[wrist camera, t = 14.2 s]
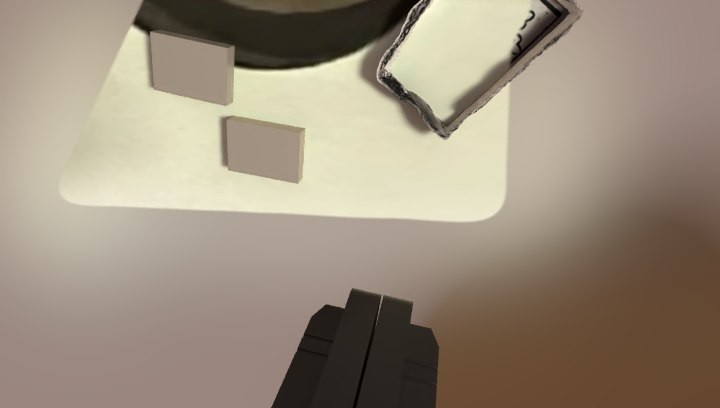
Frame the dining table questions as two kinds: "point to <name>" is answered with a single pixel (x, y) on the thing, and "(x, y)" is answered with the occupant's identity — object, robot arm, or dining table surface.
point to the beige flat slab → (192, 67)
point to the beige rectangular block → (265, 149)
